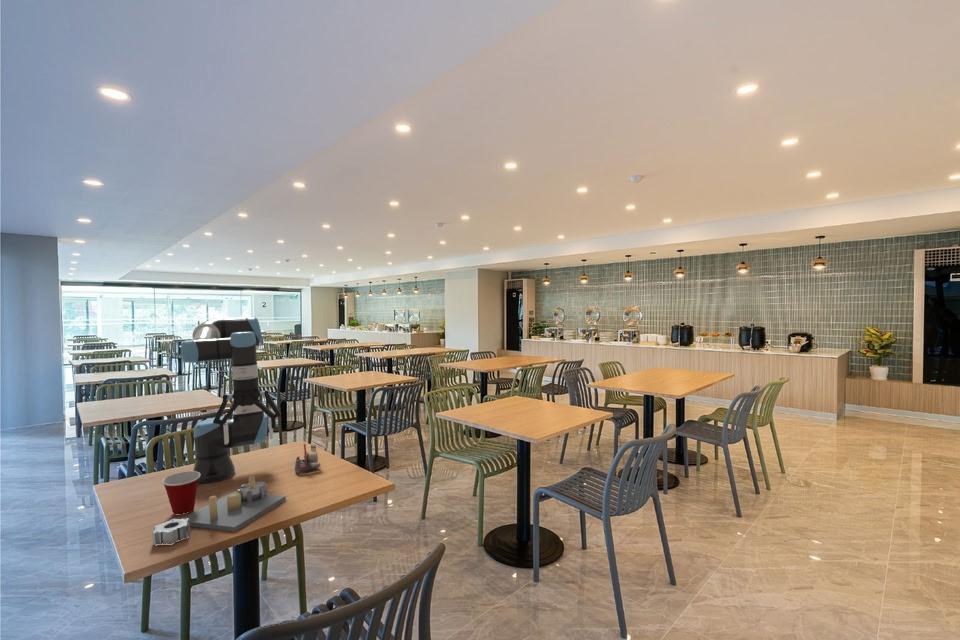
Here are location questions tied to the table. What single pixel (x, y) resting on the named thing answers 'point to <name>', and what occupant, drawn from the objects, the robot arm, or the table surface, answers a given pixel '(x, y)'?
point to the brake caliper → (307, 461)
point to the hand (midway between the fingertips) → (249, 440)
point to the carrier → (232, 511)
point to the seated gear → (252, 492)
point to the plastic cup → (182, 490)
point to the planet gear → (171, 531)
